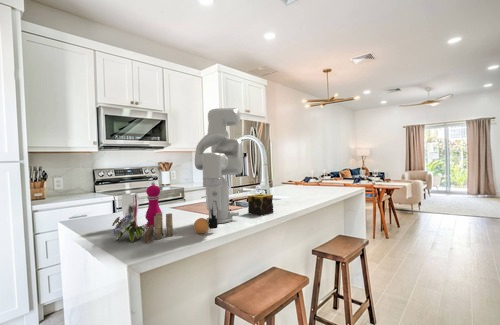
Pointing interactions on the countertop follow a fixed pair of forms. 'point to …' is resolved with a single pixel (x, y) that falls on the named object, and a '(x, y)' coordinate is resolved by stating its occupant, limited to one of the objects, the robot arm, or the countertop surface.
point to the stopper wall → (148, 234)
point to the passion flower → (127, 227)
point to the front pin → (169, 225)
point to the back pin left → (157, 227)
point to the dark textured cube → (260, 204)
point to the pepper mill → (152, 203)
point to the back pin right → (161, 222)
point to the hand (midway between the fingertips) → (213, 228)
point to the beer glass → (130, 205)
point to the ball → (201, 225)
